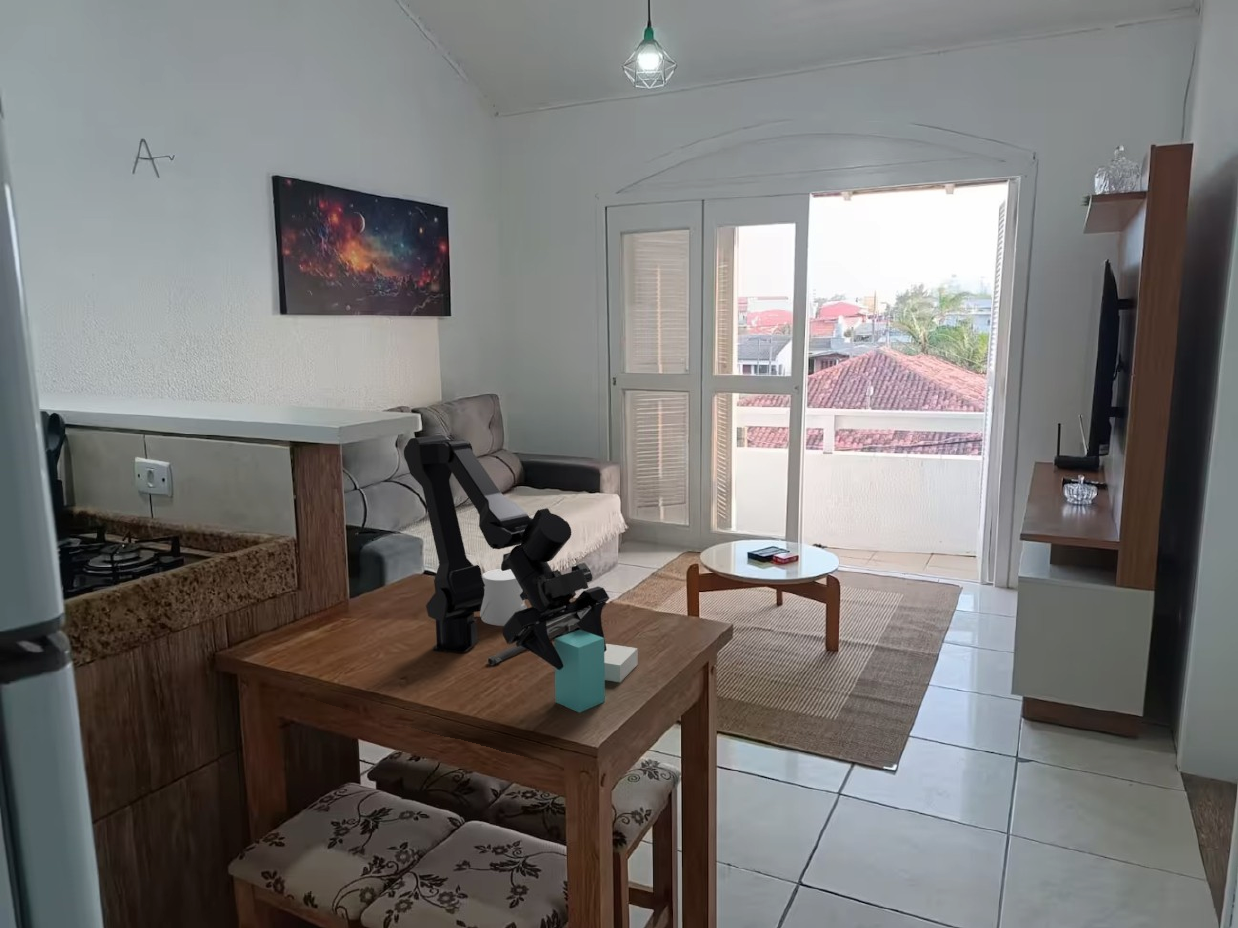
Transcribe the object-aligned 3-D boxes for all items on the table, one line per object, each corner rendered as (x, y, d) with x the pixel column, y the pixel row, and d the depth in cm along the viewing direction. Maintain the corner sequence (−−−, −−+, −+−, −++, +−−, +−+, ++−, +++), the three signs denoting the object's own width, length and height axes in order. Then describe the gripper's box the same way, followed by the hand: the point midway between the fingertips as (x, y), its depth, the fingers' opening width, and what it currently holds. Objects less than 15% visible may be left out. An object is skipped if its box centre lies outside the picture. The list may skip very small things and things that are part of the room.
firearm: (551, 609, 184) (606, 620, 175) (441, 657, 161) (498, 673, 152) (550, 594, 184) (605, 604, 174) (439, 640, 160) (497, 655, 151)
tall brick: (555, 701, 138) (554, 638, 136) (580, 691, 142) (580, 629, 140) (579, 712, 134) (578, 647, 132) (604, 701, 138) (604, 638, 136)
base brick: (576, 675, 148) (576, 658, 147) (595, 658, 155) (595, 642, 155) (620, 682, 145) (620, 665, 144) (637, 664, 152) (637, 648, 152)
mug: (533, 571, 175) (512, 582, 168) (534, 616, 177) (513, 629, 170) (483, 564, 180) (460, 575, 173) (484, 608, 182) (462, 620, 175)
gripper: (511, 561, 130) (563, 651, 125) (600, 538, 144) (650, 618, 138) (481, 600, 137) (528, 687, 131) (569, 575, 150) (615, 652, 144)
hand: (583, 659), depth 136 cm, fingers open, 9 cm apart
